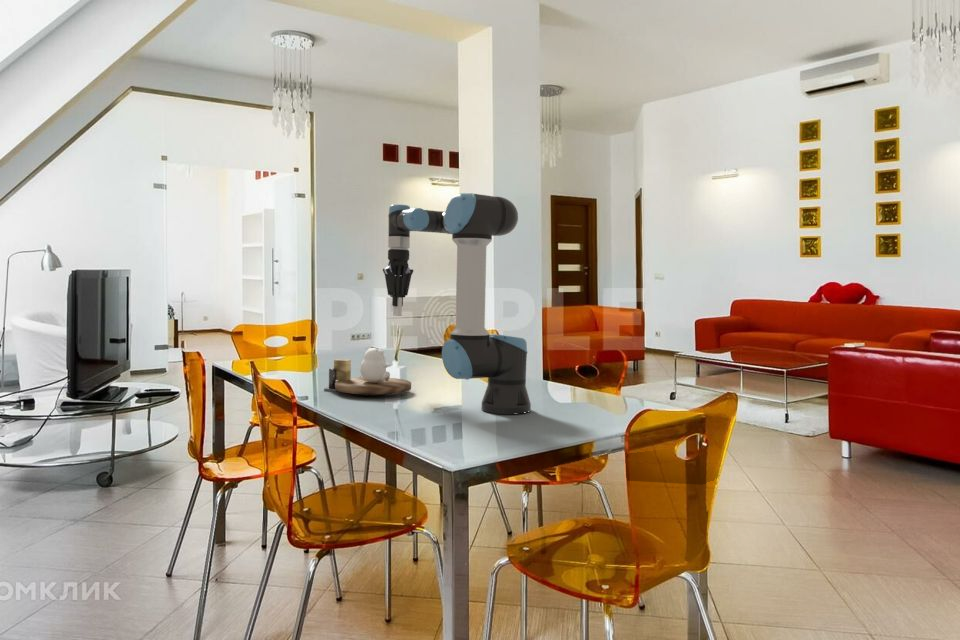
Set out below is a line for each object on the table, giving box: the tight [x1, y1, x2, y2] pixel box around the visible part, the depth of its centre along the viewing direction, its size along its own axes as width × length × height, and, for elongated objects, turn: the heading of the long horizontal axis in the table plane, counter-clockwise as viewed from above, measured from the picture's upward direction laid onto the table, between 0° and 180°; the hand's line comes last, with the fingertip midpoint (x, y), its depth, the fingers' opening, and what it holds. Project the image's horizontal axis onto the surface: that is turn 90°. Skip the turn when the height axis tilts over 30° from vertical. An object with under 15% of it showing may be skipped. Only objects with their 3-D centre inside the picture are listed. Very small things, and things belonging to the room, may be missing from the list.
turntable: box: [333, 358, 412, 395], centre depth 236 cm, size 26×27×9 cm
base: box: [323, 367, 389, 397], centre depth 237 cm, size 24×14×8 cm, turn 85°
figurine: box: [359, 347, 391, 383], centre depth 236 cm, size 10×10×12 cm
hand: (397, 315), depth 243 cm, fingers closed
